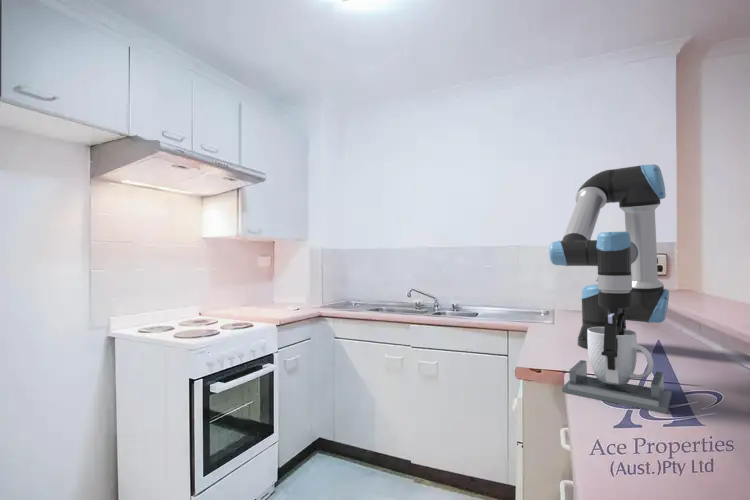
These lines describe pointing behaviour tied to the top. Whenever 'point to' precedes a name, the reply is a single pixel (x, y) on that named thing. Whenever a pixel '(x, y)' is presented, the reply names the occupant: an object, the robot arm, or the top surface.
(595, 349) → the mug
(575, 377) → the dock
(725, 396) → the top surface
